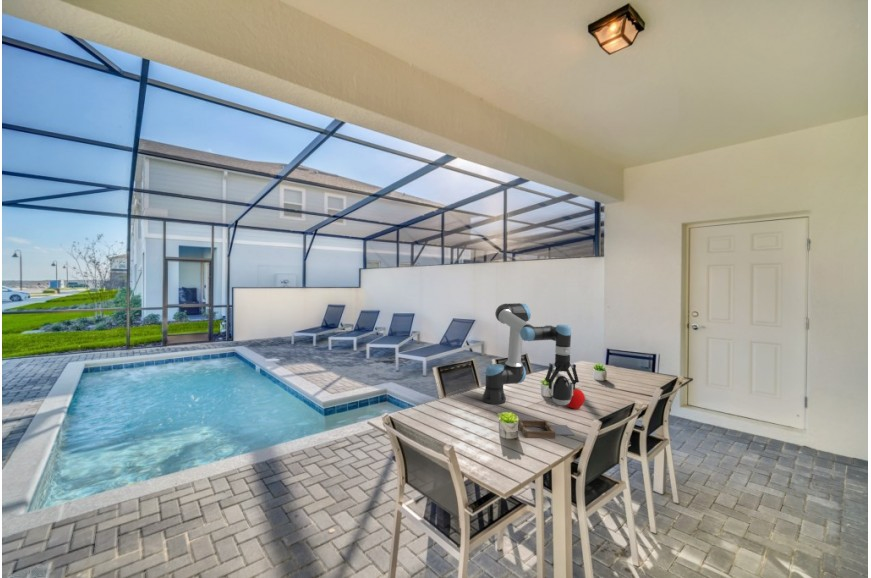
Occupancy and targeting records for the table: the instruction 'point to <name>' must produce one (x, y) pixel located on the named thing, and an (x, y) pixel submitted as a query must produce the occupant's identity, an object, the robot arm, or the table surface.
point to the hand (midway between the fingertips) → (561, 395)
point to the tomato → (576, 399)
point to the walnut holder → (536, 434)
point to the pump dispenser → (561, 391)
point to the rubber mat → (562, 430)
